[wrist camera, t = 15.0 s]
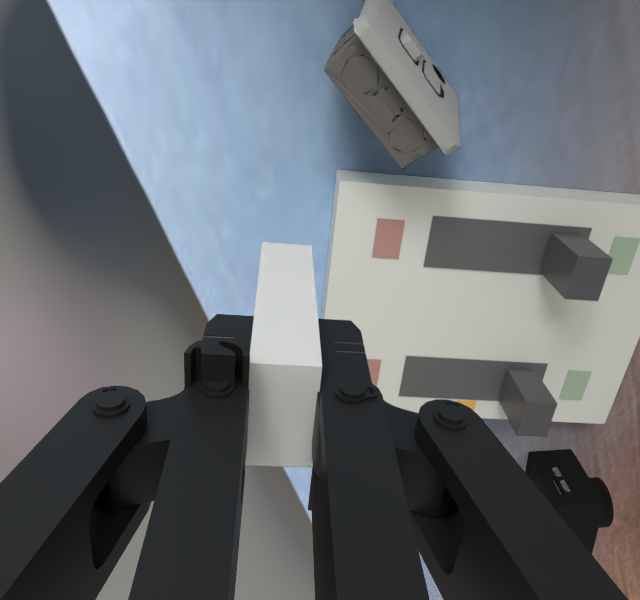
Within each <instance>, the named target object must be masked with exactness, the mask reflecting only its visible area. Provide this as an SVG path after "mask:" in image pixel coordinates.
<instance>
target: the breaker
mask: <svg viewBox="0 0 640 600" xmlns="http://www.w3.org/2000/svg"><path fill="white" fill-rule="evenodd" d="M612 260H613V258H611V257H610V256H609V255H608V254H606V253H605V252H604V251H603V250H601V249H600V248H599V247H598V246H596V245H595V244H594V243H593V242H591V241H590V240H589V239H588V238H586V237H585V236H584V235H576V234H563V233H552V234H551V237H550V240H549V244H548V247H547V251H546V254H545V258H544V261H543V264H542V268H541V271H540V273H541V274H542V275H543V276H544V277H545V278H546V279H547V280H548V282H549V283H550V284H551V285H552V286H553V287H554V288H555V289H556V290H557V291H558V292H559V294H560V295H561V296H562V297H563V298H564V299H570V300H585V301H598V300H599V297H600V294H601V291H602V289H603V286H604V283H605V280H606V277H607V274H608V271H609V269H610V266H611V263H612Z"/></svg>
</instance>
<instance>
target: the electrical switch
mask: <svg viewBox="0 0 640 600" xmlns="http://www.w3.org/2000/svg"><path fill="white" fill-rule="evenodd" d="M336 58H337V59H336ZM335 59H336V60H335ZM331 62H332V63H331ZM330 63H331V64H330ZM329 64H330V65H329ZM328 65H329V66H328ZM344 65H345V66H344ZM326 66H328V67H327V68H326V69H324V71H325V72H326V73H327V75H328V76H329V77H330V79H331V80H332V81H333V82H334V84H335V85H336V86H337V87H338V89H339V90H340V91H341V92H342V94H343V95H344V96H345V98H346V99H347V100H348V101H349V103H350V104H351V105H352V106H353V108H354V109H355V110H356V111H357V113H358V114H359V115H360V117H361V118H362V119H363V120H364V122H365V123H366V124H367V125H368V127H369V128H370V129H371V131H372V132H373V133H374V134H375V136H376V137H377V138H378V139H379V141H380V142H381V143H382V144H383V146H384V147H385V148H386V150H387V151H388V152H389V153H390V155H391V156H392V157H393V158H394V160H395V161H396V162H397V163H398V165H399V166H400V167H401V169H402V168H405V167H406V166H408V165H409V164H410V163H412V162H413V161H415V160H416V159H418V158H419V157H422V156H425V155H427V154H428V153H430V152H431V151H433V150H434V149H436V148H438V147H440V148H441V150H442V151H443V152H444V153H445V154H447V155H448V156H449V155H450V154H451V153H453V152H454V151H455V150H457V149H458V148H459V147H461V142H460V118H459V100H458V98H457V95H456V93H455V91H454V90H453V88H452V87H451V86H450V84H449V83H448V81H447V80H446V78H445V77H444V76H443V74H442V73H441V71H440V70H439V68H438V67H437V66H436V64H435V63H434V61H433V60H432V58H431V57H430V55H429V54H428V53H427V51H426V50H425V48H424V47H423V45H422V44H421V43H420V41H419V40H418V38H417V37H416V35H415V34H414V33H413V31H412V30H411V28H410V27H409V25H408V24H407V22H406V21H405V20H404V18H403V17H402V15H401V14H400V12H399V11H398V10H397V8H396V7H395V5H394V4H393V2H392V1H391V0H366V1H365V3H364V6H363V8H362V11H361V14H360V16H359V18H358V19H357V18H355V19H354V21H353V26H352V27H351V28H350V29H349V30H348V31H347V32H346V33H344V34H343V35H342V36H341V38H340V40H339V42H338V44H337V46H336V47H335V49H334V51H333V53H332V55H331V56H330V58H329V60H328V62H327V64H326V65H325V67H326ZM325 67H324V68H325ZM345 85H346V87H347V89H346V88H345ZM368 91H369V92H368ZM377 91H378V94H377V95H374V94H375V93H376V92H377ZM366 92H368V93H367V94H364V93H366ZM373 95H374V96H373ZM396 115H397V119H395V120H394V121H393V122H392V120H393V117H394V116H396ZM424 136H425V137H424ZM396 151H397V152H396Z"/></svg>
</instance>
